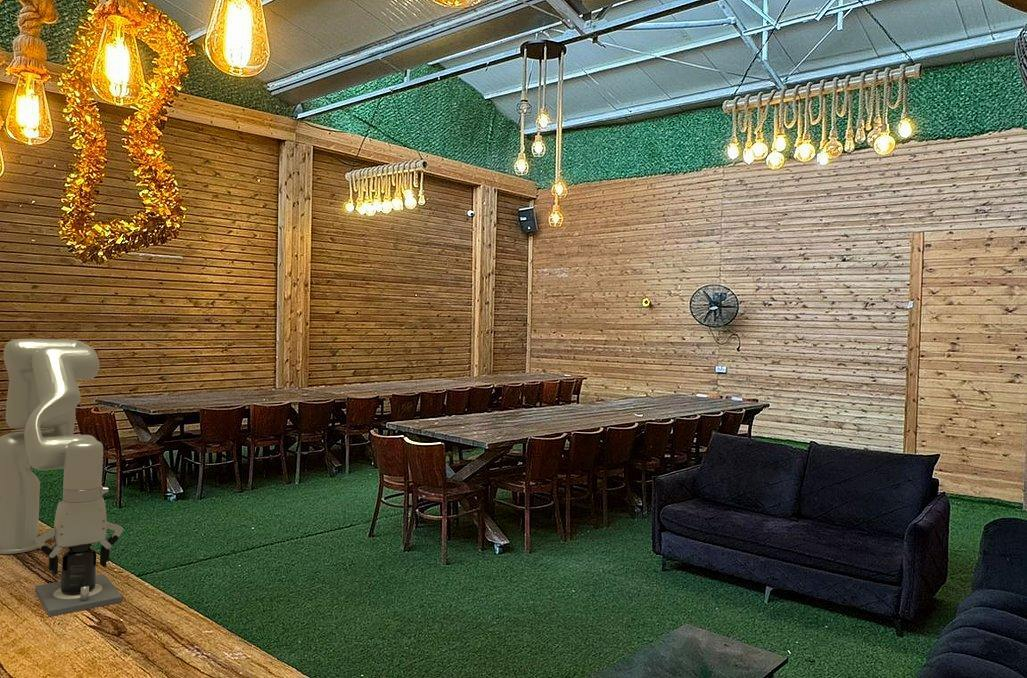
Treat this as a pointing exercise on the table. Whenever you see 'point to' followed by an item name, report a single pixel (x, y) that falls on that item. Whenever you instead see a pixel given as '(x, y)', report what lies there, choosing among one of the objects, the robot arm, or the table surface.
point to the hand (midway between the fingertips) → (79, 569)
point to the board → (77, 597)
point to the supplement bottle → (78, 569)
